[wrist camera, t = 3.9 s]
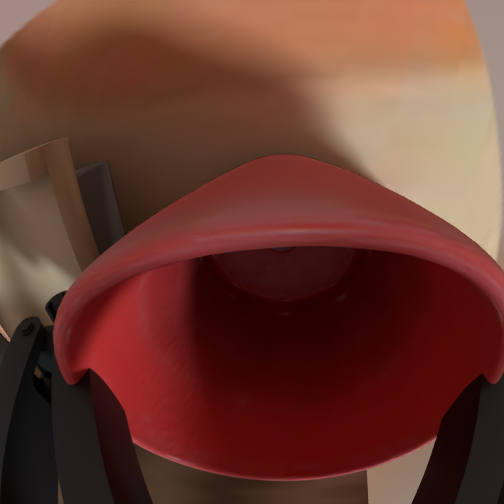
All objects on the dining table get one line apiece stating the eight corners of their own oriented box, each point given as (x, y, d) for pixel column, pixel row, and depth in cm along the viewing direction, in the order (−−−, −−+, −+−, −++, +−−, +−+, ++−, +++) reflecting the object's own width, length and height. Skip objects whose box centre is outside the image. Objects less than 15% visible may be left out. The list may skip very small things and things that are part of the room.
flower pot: (172, 108, 11) (-32, 189, 2) (418, 148, 10) (585, 277, 2) (175, 299, 16) (119, 452, 8) (356, 320, 16) (385, 473, 8)
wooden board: (51, 325, 21) (-20, 456, 8) (41, 310, 20) (-37, 444, 7) (343, 353, 19) (355, 574, 5) (348, 335, 17) (366, 578, 4)
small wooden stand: (45, 311, 20) (12, 358, 15) (-13, 166, 13) (-69, 201, 8) (166, 329, 19) (138, 401, 14) (112, 120, 11) (24, 153, 6)
